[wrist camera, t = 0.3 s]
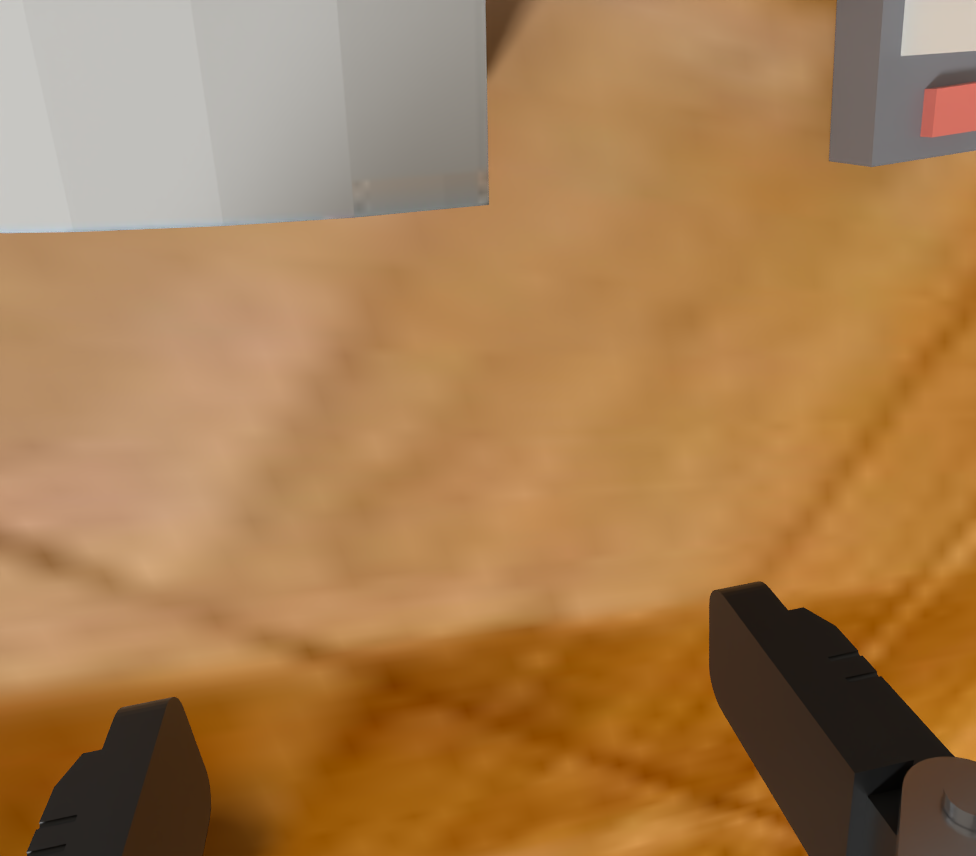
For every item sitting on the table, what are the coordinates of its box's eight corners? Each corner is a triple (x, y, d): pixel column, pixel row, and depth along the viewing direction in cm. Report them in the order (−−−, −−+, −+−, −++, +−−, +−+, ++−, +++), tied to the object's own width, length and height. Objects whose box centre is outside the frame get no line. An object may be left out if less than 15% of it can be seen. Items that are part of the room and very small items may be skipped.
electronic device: (442, -50, 33) (895, -768, 6) (449, 139, 36) (764, 283, 8) (131, -53, 31) (-1463, -1123, 4) (165, 147, 34) (-587, 358, 7)
